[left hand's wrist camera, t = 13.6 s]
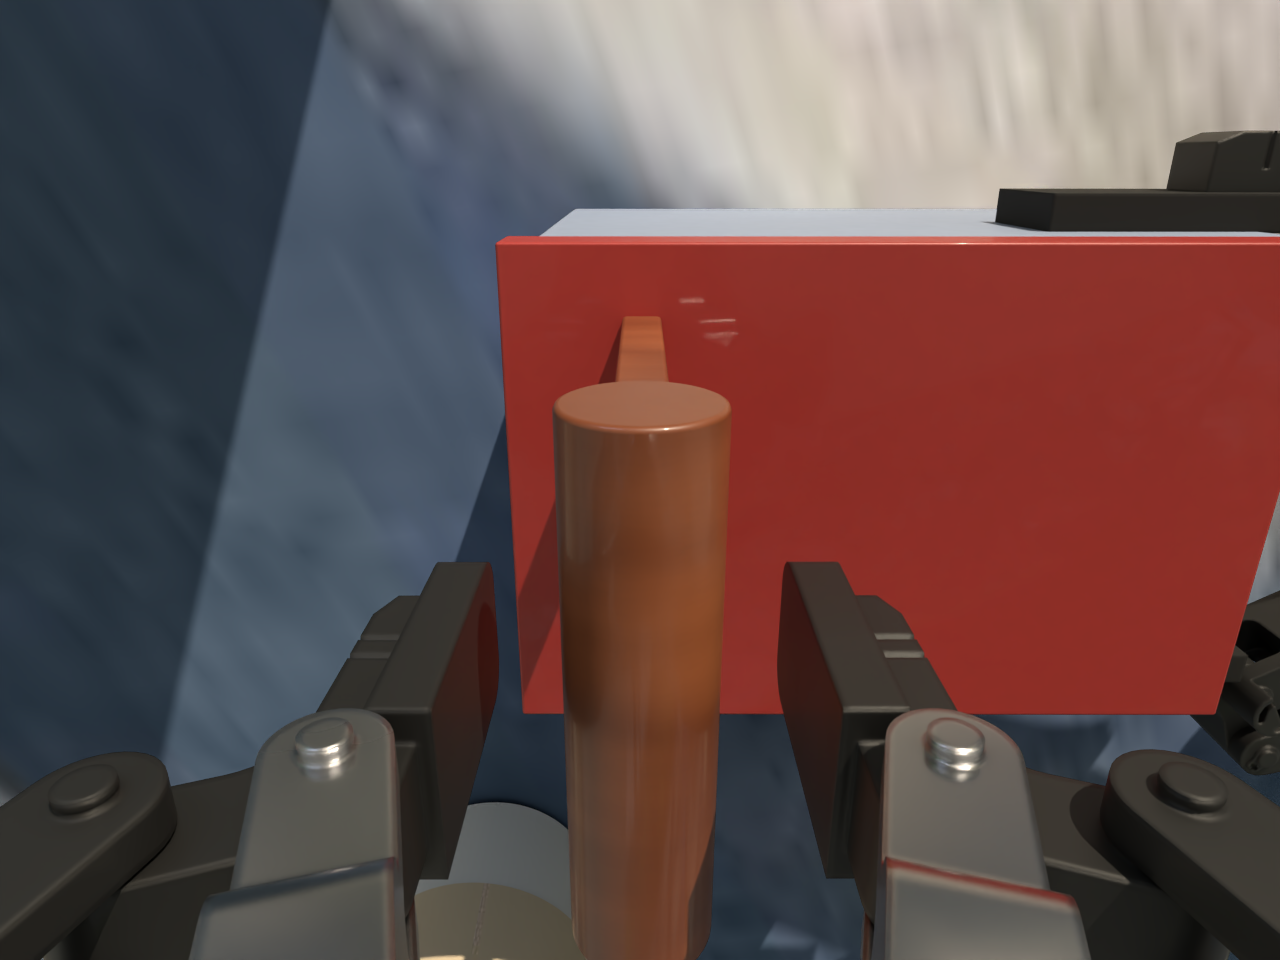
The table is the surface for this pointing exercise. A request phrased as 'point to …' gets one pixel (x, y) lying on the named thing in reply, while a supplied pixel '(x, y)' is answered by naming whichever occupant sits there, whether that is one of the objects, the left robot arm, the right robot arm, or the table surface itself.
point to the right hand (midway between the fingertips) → (985, 445)
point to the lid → (865, 495)
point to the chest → (814, 223)
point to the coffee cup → (501, 891)
